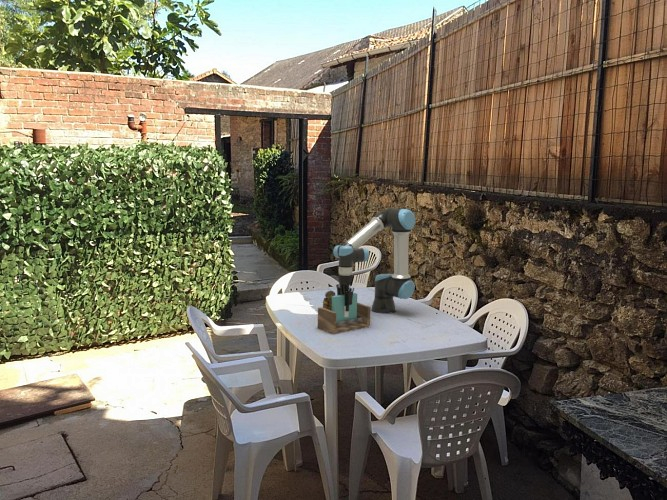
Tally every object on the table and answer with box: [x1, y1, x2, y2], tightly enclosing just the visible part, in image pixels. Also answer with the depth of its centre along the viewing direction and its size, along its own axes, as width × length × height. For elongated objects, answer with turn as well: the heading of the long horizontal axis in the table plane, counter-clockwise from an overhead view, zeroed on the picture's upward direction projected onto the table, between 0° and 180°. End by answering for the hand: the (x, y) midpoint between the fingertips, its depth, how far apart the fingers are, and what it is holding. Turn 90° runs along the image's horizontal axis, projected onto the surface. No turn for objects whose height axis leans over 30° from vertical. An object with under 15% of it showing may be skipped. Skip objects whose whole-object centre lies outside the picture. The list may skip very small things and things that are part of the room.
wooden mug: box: [322, 290, 336, 311], centre depth 315 cm, size 9×14×18 cm, turn 7°
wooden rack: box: [317, 302, 372, 335], centre depth 296 cm, size 26×14×12 cm, turn 127°
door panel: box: [332, 292, 358, 322], centre depth 296 cm, size 16×2×16 cm, turn 127°
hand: (344, 316), depth 296 cm, fingers closed on door panel, 2 cm apart
